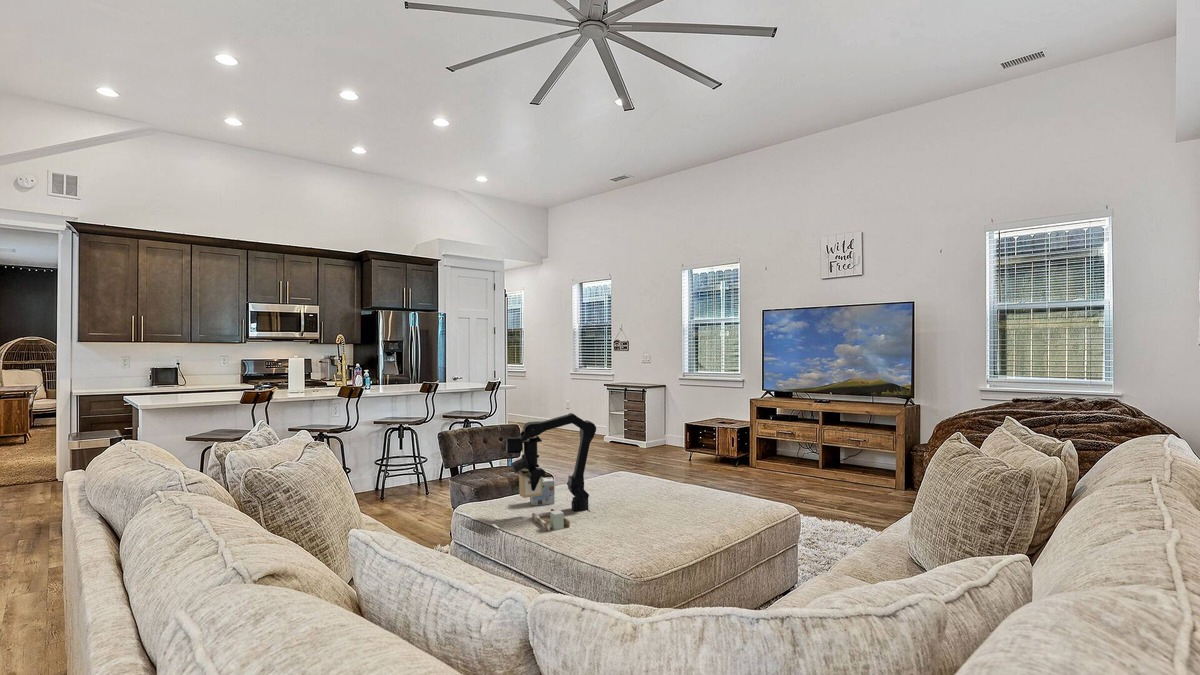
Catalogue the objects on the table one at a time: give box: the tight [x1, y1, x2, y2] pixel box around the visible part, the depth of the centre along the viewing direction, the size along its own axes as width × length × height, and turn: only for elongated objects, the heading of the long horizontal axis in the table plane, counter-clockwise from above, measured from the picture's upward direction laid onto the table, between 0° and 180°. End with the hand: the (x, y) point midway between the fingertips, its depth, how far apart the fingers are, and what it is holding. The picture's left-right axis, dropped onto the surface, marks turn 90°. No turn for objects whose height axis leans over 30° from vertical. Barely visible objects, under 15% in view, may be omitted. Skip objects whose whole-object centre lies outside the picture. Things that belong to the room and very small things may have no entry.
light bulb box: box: [529, 476, 556, 507], centre depth 271 cm, size 11×7×11 cm, turn 105°
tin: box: [549, 509, 565, 531], centre depth 235 cm, size 4×4×6 cm
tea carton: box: [518, 473, 543, 499], centre depth 252 cm, size 8×5×9 cm, turn 116°
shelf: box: [531, 508, 571, 532], centre depth 241 cm, size 18×9×4 cm, turn 26°
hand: (531, 489), depth 252 cm, fingers closed on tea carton, 5 cm apart
